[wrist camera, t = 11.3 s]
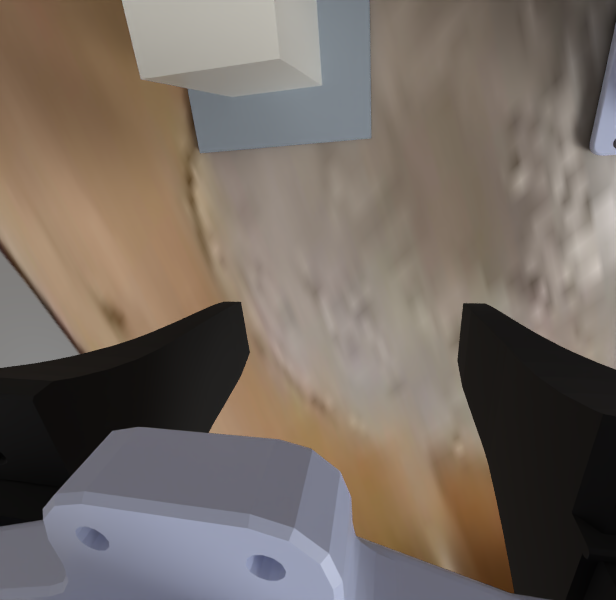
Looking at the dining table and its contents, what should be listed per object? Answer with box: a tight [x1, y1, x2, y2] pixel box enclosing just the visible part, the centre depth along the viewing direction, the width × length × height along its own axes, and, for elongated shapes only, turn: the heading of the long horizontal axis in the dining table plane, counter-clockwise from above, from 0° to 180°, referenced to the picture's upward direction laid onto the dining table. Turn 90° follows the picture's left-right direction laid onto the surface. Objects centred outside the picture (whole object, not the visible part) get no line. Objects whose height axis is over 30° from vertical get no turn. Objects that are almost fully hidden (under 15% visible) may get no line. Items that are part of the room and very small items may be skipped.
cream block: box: [122, 0, 322, 97], centre depth 13 cm, size 4×4×8 cm
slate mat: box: [187, 0, 371, 153], centre depth 17 cm, size 9×9×1 cm
